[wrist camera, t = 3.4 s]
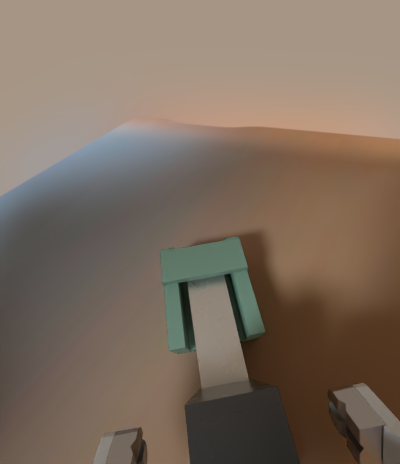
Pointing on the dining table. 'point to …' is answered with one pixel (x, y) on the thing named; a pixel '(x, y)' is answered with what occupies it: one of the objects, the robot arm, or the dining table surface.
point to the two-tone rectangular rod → (230, 391)
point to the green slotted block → (203, 266)
